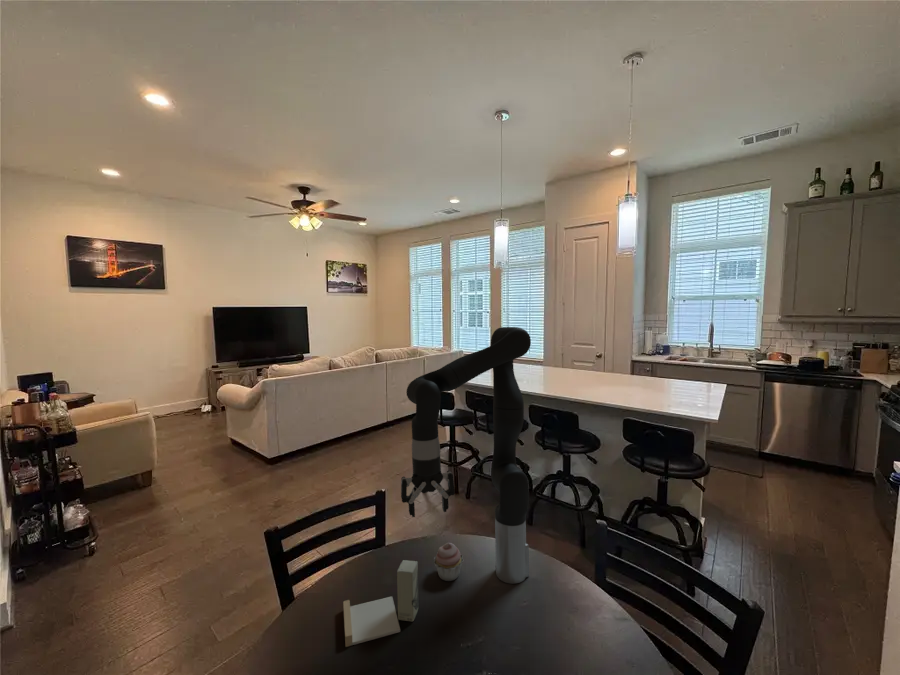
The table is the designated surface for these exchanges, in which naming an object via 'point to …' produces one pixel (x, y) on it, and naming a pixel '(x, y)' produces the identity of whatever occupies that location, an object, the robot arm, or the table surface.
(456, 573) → the cupcake
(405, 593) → the box
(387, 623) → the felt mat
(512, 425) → the robot arm
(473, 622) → the table surface
